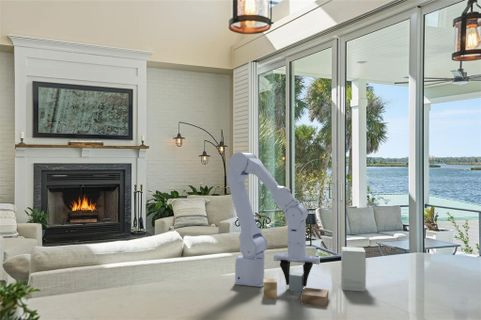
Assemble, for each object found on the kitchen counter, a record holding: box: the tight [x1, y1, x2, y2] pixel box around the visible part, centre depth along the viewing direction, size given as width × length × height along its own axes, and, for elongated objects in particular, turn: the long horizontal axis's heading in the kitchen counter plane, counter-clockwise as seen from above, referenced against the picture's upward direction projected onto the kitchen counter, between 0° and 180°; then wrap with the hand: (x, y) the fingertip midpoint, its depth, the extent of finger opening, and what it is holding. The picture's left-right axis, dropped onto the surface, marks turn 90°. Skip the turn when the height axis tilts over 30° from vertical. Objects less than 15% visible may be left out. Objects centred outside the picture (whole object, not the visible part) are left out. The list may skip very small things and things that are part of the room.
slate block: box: [288, 271, 305, 292], centre depth 135 cm, size 4×4×5 cm
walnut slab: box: [300, 287, 329, 307], centre depth 124 cm, size 7×7×3 cm
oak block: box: [263, 277, 278, 300], centre depth 128 cm, size 4×4×5 cm
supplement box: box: [340, 246, 367, 292], centre depth 137 cm, size 7×7×13 cm
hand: (296, 284), depth 135 cm, fingers open, 5 cm apart
